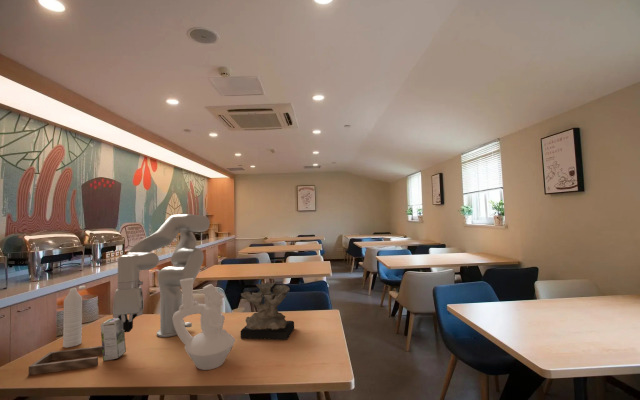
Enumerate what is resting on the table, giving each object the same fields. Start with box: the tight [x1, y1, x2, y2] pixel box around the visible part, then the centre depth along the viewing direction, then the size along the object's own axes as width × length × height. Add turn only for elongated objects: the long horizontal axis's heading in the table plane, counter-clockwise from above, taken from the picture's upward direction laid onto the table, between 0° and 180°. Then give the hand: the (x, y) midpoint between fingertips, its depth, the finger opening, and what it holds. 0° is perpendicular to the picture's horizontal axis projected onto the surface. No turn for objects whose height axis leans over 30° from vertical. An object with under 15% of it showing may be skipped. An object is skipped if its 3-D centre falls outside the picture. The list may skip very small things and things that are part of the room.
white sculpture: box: [172, 278, 236, 371], centre depth 113 cm, size 18×22×32 cm
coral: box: [239, 281, 295, 341], centre depth 144 cm, size 25×20×22 cm
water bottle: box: [62, 285, 87, 349], centre depth 136 cm, size 9×6×25 cm
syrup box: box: [100, 317, 127, 362], centre depth 121 cm, size 6×6×14 cm
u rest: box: [28, 345, 103, 376], centre depth 117 cm, size 21×12×3 cm, turn 104°
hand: (128, 331), depth 122 cm, fingers closed
